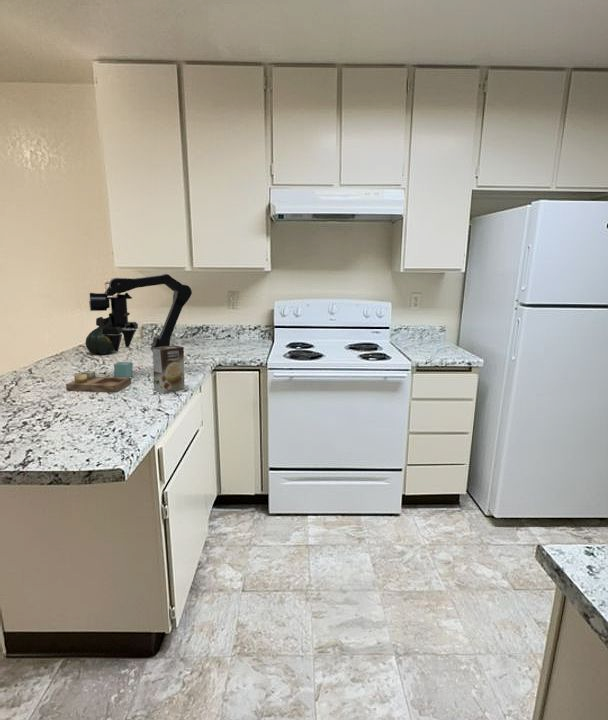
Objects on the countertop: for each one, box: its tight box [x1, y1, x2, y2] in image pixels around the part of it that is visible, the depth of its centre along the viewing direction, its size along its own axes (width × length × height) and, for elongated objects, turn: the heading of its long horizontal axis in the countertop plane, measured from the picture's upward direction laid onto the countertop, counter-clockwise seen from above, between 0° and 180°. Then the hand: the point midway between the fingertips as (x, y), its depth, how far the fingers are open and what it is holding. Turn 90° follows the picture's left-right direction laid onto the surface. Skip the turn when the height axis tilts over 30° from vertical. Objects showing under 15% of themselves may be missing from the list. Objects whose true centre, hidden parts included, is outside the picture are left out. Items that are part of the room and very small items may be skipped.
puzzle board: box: [65, 370, 132, 393], centre depth 150 cm, size 18×12×5 cm, turn 89°
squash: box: [85, 326, 115, 356], centre depth 211 cm, size 14×15×15 cm
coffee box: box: [152, 344, 185, 394], centre depth 149 cm, size 9×6×16 cm
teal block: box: [113, 361, 133, 378], centre depth 165 cm, size 5×5×6 cm
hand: (122, 349), depth 163 cm, fingers open, 9 cm apart
